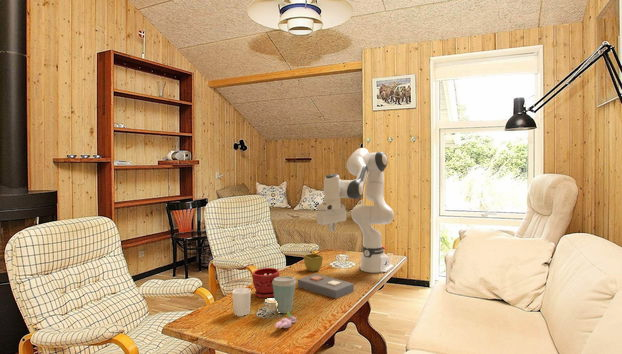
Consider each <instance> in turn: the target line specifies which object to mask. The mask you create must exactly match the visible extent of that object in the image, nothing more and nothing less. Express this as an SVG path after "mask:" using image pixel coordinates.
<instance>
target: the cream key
mask: <svg viewBox="0 0 622 354" xmlns="http://www.w3.org/2000/svg"><path fill="white" fill-rule="evenodd" d="M327 284H328V285H331V286H338V285H340V284H341V282H338V281H334V280H333V281H330V282H327Z"/></svg>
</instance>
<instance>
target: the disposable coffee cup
mask: <svg viewBox="0 0 622 354" xmlns="http://www.w3.org/2000/svg"><path fill="white" fill-rule="evenodd" d="M272 284H273V291H274V296H273V297H274V298H273V299H274V301H275V300H276V301H277V303H278V306H277V309H278V312H280V313H287V312H290V313H291V311H292V309H293V303H294V298H295V297H294V296H295V290H296V284H297V279H296V277H294V276H288V275H287V276H286V275H285V276H284V275H283V276H279V277H277V278H274V279H273V281H272Z"/></svg>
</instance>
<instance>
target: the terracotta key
mask: <svg viewBox="0 0 622 354" xmlns="http://www.w3.org/2000/svg"><path fill="white" fill-rule="evenodd" d="M310 280H313V281H320V280H323V277H320V276H313V277H310Z"/></svg>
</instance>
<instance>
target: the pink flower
mask: <svg viewBox="0 0 622 354" xmlns="http://www.w3.org/2000/svg"><path fill="white" fill-rule="evenodd" d="M285 316H286V317H284V318H282V319H280V321H277V322H276V323H275V328H279V329H281V328H283V329H287V328H290V327H292V324H294V323H297V321H298V316H293V315H291V314H290V313H289V312H287V314H285Z"/></svg>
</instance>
